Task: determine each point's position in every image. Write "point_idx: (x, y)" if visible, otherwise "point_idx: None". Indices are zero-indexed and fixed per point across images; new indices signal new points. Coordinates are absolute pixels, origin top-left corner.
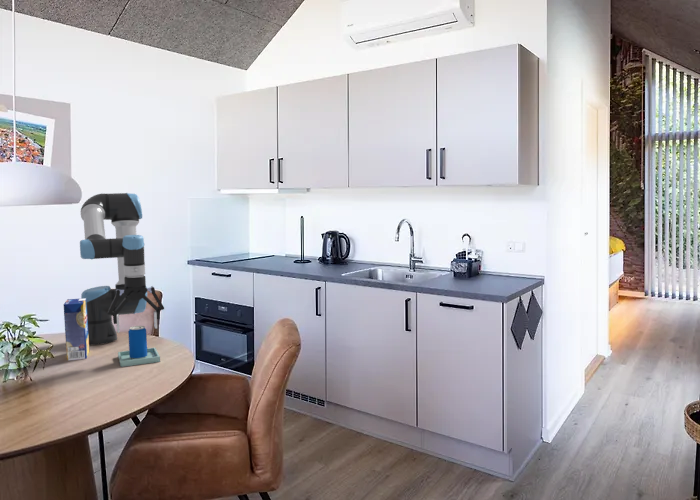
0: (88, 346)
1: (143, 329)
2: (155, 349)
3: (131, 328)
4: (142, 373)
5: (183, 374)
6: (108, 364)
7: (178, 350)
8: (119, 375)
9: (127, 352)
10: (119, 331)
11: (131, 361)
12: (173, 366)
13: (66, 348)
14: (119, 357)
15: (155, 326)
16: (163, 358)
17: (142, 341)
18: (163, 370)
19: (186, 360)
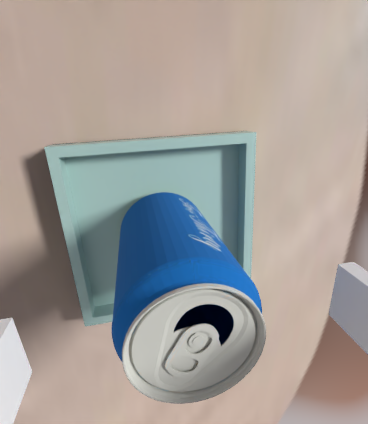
0: None
1: (241, 364)
2: (250, 177)
3: (142, 346)
4: None
5: (279, 409)
6: (23, 259)
7: (341, 143)
8: (94, 393)
9: (103, 153)
10: (26, 381)
11: None
12: (271, 343)
13: None
14: (70, 261)
15: (345, 327)
16: (259, 245)
17: (202, 316)
18: None
19: (324, 293)
